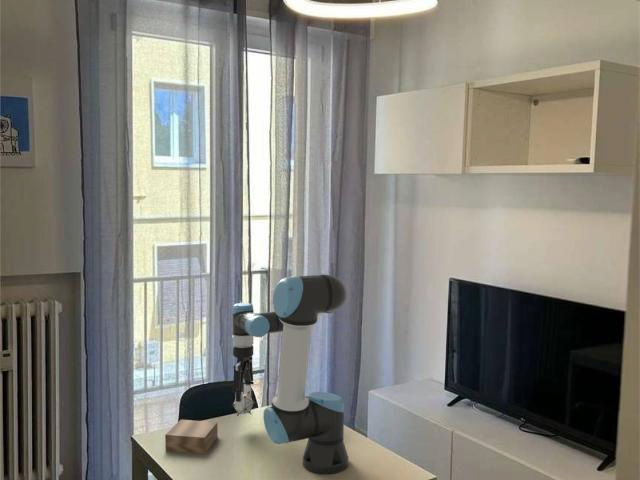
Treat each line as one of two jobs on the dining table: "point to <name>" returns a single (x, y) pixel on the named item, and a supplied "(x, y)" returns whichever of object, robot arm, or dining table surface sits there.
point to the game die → (245, 404)
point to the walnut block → (191, 436)
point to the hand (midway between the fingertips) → (243, 405)
